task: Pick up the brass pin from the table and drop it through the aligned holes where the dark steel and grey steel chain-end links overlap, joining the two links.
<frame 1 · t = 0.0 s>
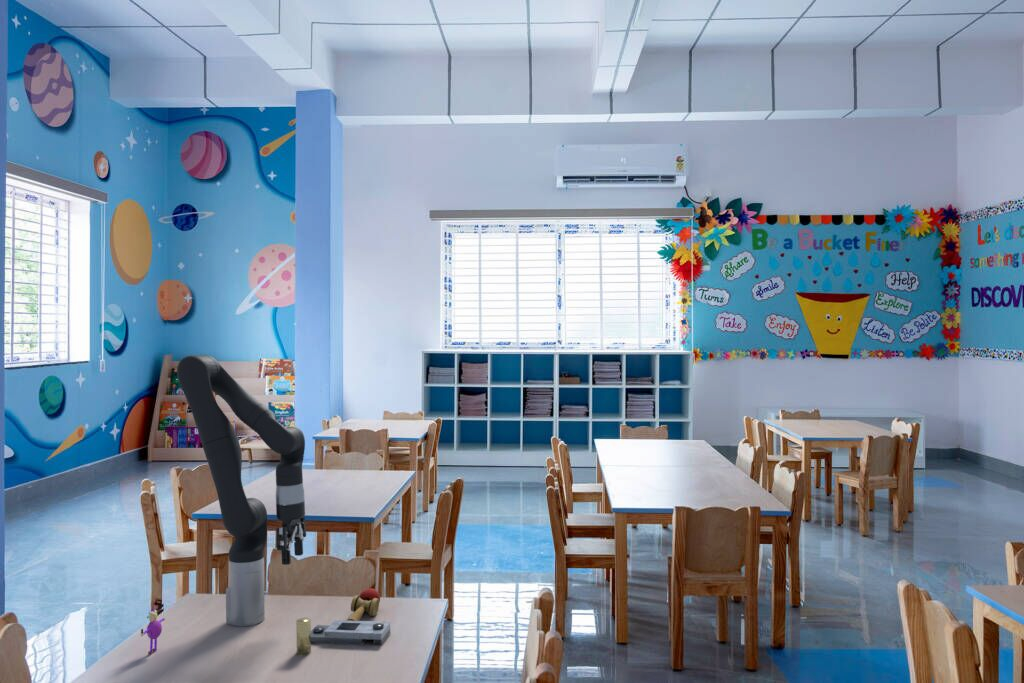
hand: (292, 559, 210), 17 cm above the table, tool pointing down, fingers open, 8 cm apart
brass pin: (303, 652, 190), on the table
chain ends: (348, 637, 199), on the table
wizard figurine: (154, 653, 190), on the table
kendama: (362, 618, 214), on the table
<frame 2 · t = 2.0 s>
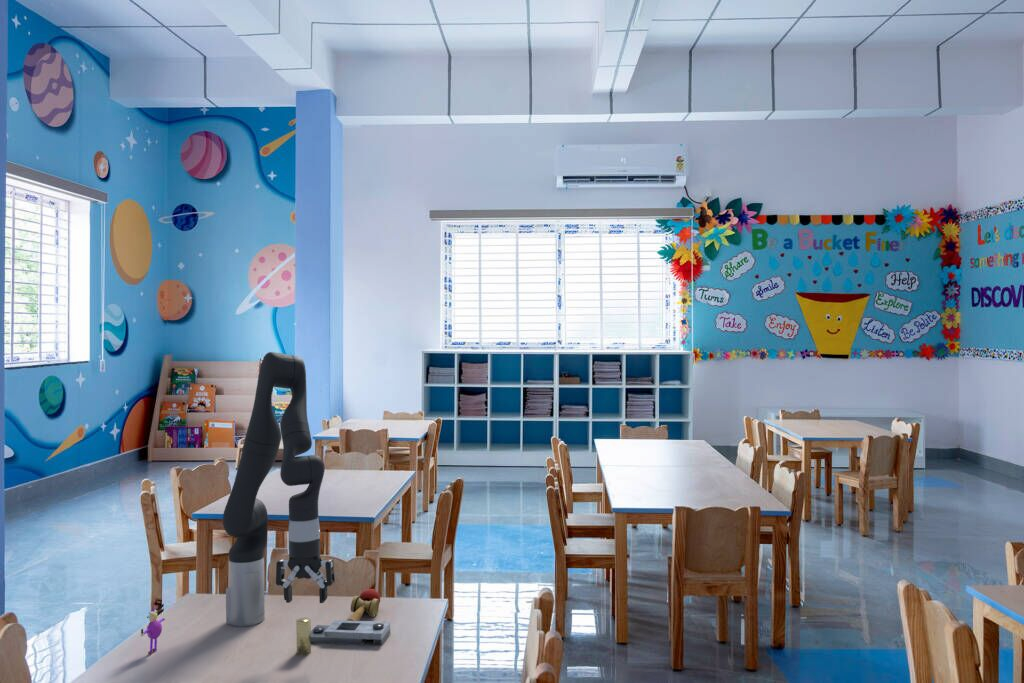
hand: (305, 602, 190), 12 cm above the table, tool pointing down, fingers open, 8 cm apart
nothing on the table moved.
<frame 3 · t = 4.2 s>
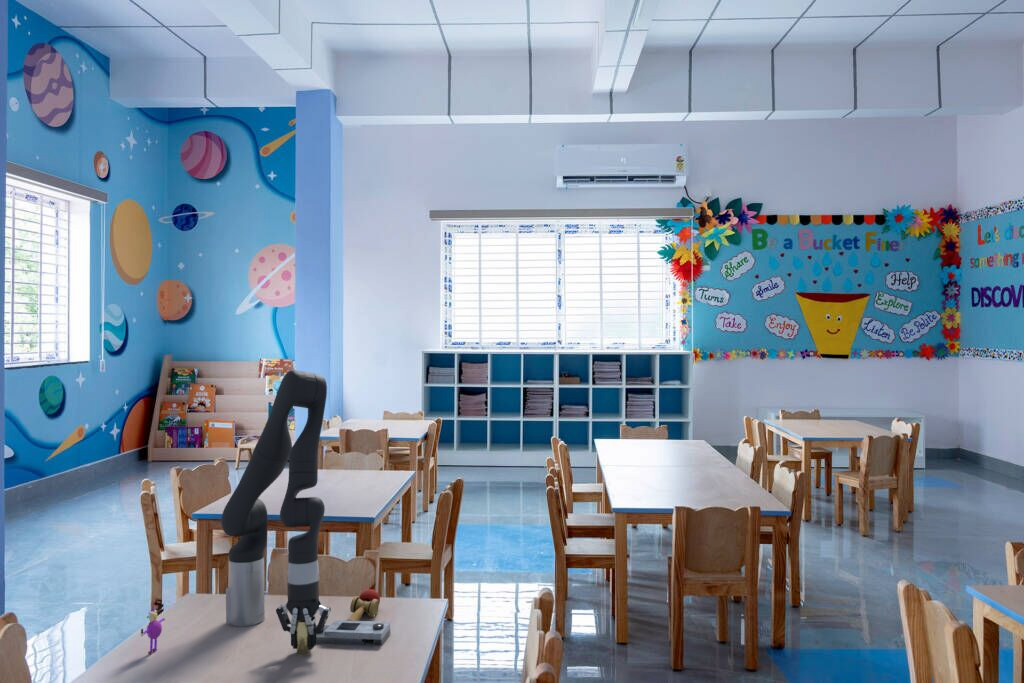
hand: (303, 647, 190), 1 cm above the table, tool pointing down, fingers closed on brass pin, 3 cm apart
brass pin: (303, 652, 190), on the table, touching gripper
everything else where it was.
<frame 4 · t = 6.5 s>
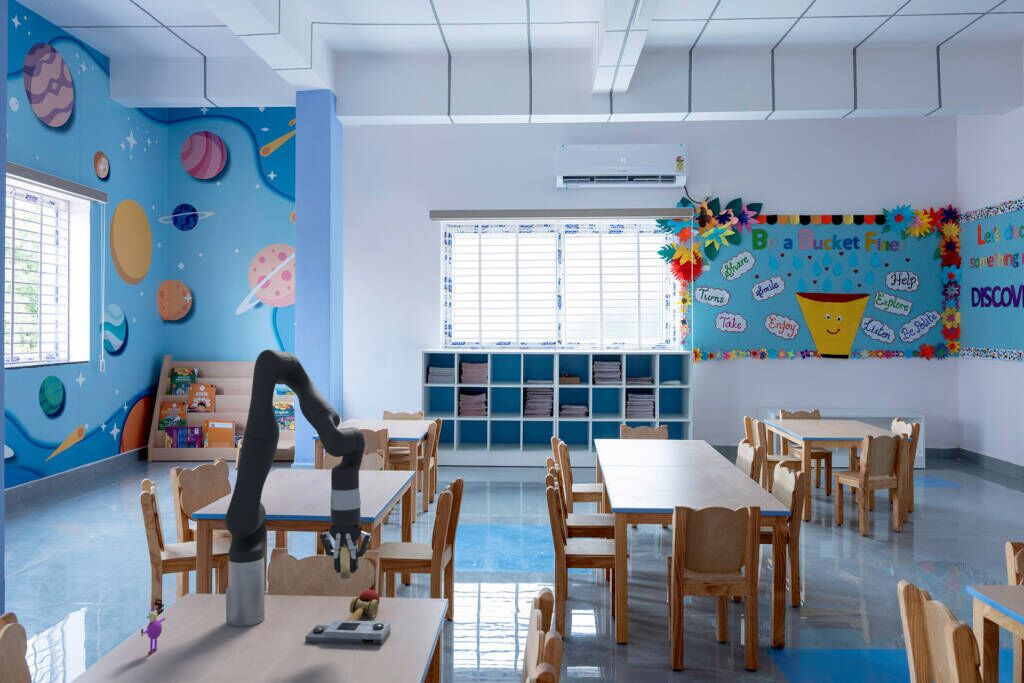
hand: (346, 571, 198), 17 cm above the table, tool pointing down, fingers closed on brass pin, 3 cm apart
brass pin: (346, 576, 198), point 16 cm above the table, touching gripper
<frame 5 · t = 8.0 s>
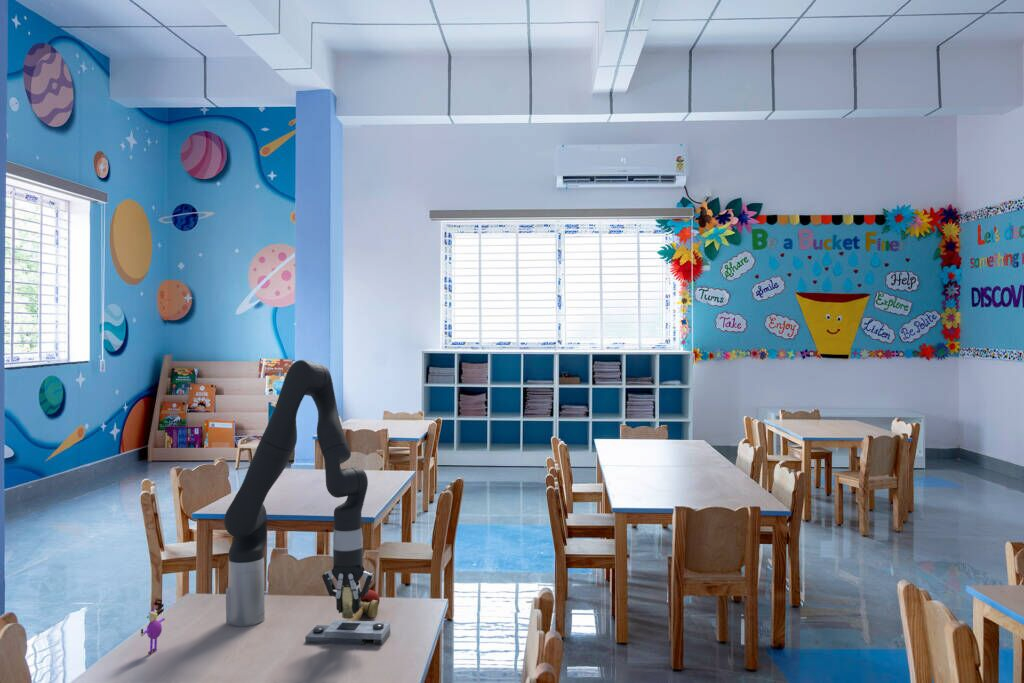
hand: (348, 611, 199), 7 cm above the table, tool pointing down, fingers closed on brass pin, 3 cm apart
brass pin: (348, 616, 199), point 6 cm above the table, touching gripper
when the fingers open (4 cm above the table, at t = 9.3 s): brass pin drops 2 cm, resting in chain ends.
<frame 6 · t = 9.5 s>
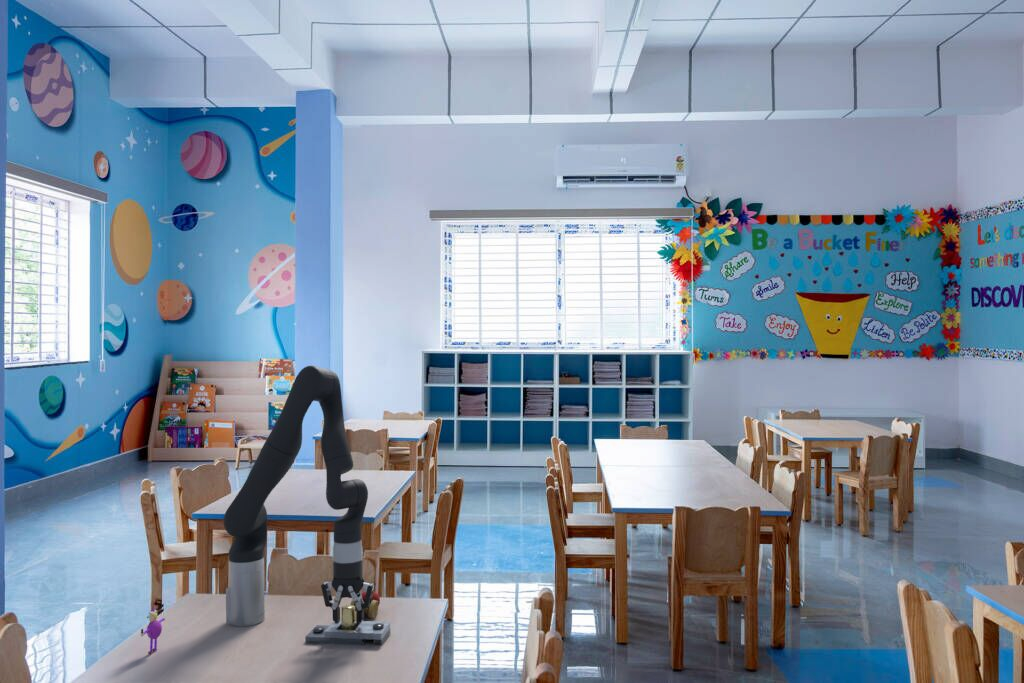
hand: (348, 622, 199), 4 cm above the table, tool pointing down, fingers open, 5 cm apart
brass pin: (348, 638, 199), resting in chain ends
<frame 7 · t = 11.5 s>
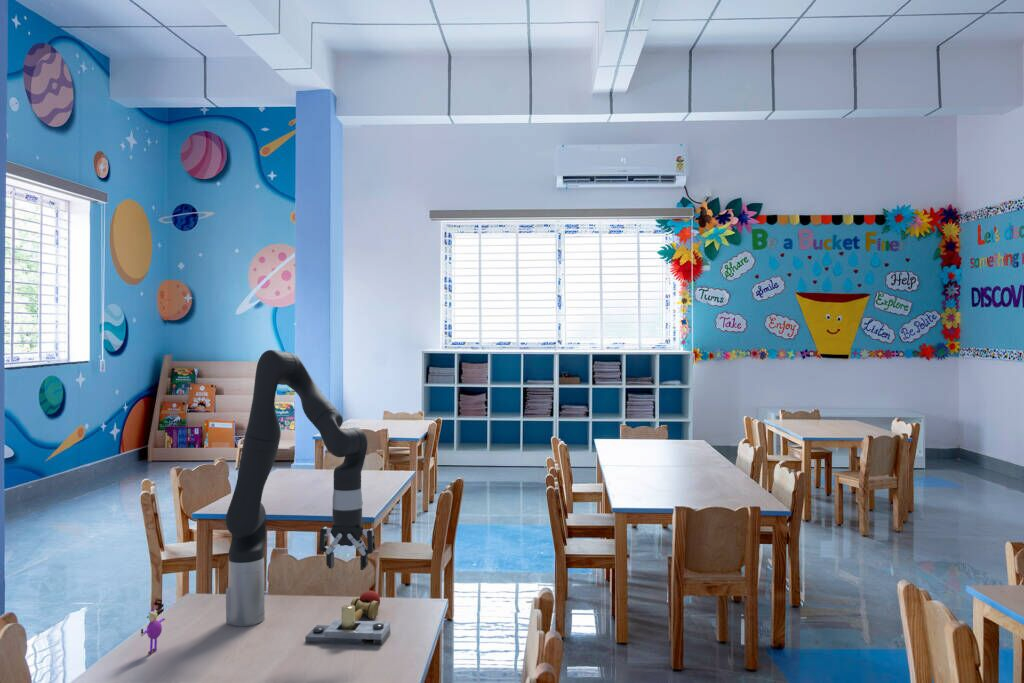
hand: (347, 568, 199), 18 cm above the table, tool pointing down, fingers open, 8 cm apart
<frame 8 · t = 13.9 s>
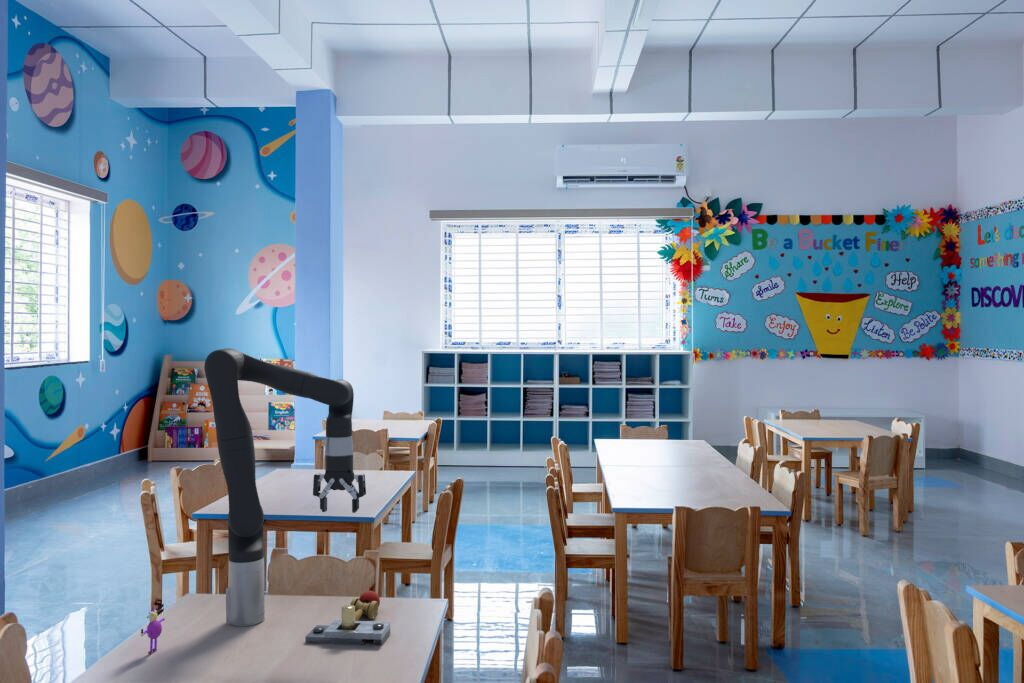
hand: (339, 511, 210), 30 cm above the table, tool pointing down, fingers open, 8 cm apart
at the end: brass pin 0.0 cm off-centre on the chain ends, point 0.0 cm above the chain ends's base; brass pin tilted 0°; the gripper is holding nothing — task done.
